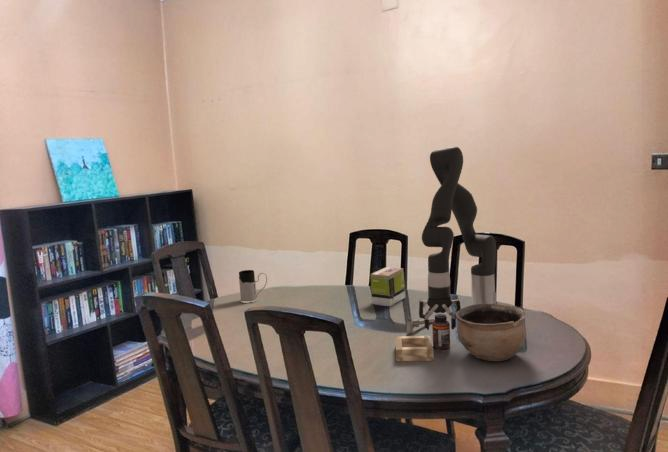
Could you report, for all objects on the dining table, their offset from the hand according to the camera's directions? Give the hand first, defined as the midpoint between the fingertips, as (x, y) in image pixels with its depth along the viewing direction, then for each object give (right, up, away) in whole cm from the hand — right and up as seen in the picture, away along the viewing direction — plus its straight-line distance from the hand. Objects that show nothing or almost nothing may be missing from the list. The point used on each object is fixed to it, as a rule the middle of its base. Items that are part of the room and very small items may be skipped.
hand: (440, 328), depth 170 cm
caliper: (-2, -4, +21) cm, 22 cm away
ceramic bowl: (+15, -7, -10) cm, 19 cm away
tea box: (-11, 0, +58) cm, 59 cm away
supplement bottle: (+1, -7, +1) cm, 7 cm away
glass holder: (-77, -2, +73) cm, 106 cm away
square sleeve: (-10, -8, -4) cm, 13 cm away
